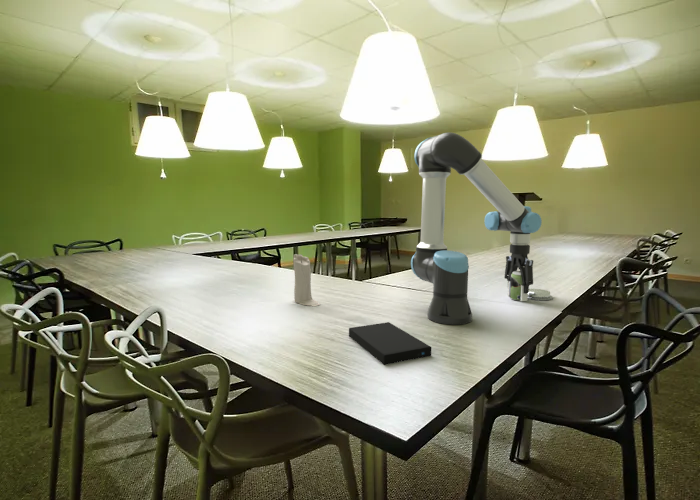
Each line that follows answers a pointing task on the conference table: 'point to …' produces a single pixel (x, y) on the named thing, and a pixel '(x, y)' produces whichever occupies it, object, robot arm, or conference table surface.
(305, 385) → the conference table surface
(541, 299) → the bowl
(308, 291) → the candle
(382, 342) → the external hard drive
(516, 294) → the beverage can
